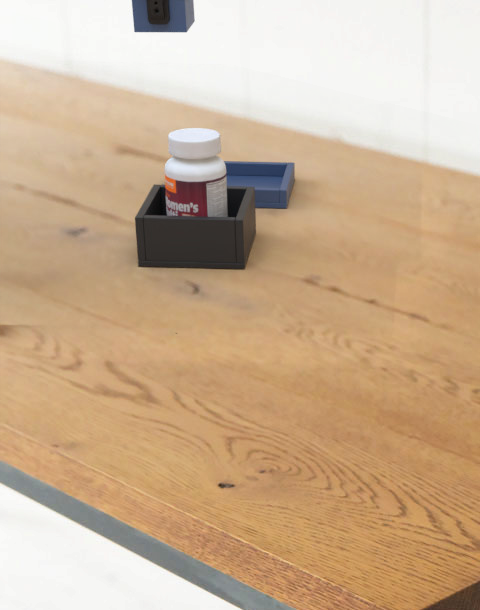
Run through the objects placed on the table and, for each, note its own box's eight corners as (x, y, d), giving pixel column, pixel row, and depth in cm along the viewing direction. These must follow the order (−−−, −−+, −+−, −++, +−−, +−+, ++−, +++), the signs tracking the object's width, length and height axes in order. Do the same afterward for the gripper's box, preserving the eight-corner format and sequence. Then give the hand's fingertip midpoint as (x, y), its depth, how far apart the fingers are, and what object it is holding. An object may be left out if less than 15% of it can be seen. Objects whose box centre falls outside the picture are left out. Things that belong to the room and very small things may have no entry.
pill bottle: (156, 247, 137) (149, 137, 132) (191, 230, 142) (185, 122, 136) (206, 258, 134) (201, 146, 129) (240, 240, 139) (237, 131, 134)
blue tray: (165, 205, 151) (164, 187, 150) (180, 177, 160) (179, 159, 159) (286, 208, 150) (286, 190, 149) (294, 179, 159) (294, 162, 158)
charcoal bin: (138, 266, 134) (134, 217, 131) (156, 230, 143) (153, 184, 141) (244, 269, 134) (242, 219, 131) (256, 233, 143) (254, 186, 140)
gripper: (127, -165, 140) (141, 4, 149) (98, -151, 128) (115, 32, 136) (199, -165, 140) (209, 4, 148) (177, -152, 127) (189, 32, 136)
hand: (164, 16), depth 142 cm, fingers closed on blue block, 5 cm apart
